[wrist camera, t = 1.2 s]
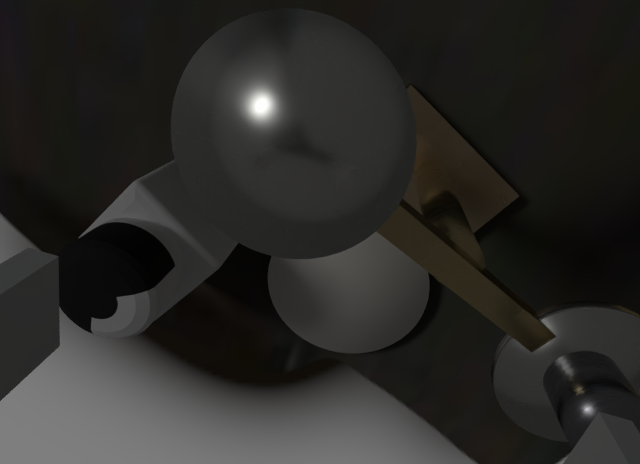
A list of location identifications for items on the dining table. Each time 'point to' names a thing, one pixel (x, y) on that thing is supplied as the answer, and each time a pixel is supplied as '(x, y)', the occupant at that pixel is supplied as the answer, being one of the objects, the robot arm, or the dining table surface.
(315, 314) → the dish
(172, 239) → the grey piece
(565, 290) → the dining table surface
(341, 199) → the balance
